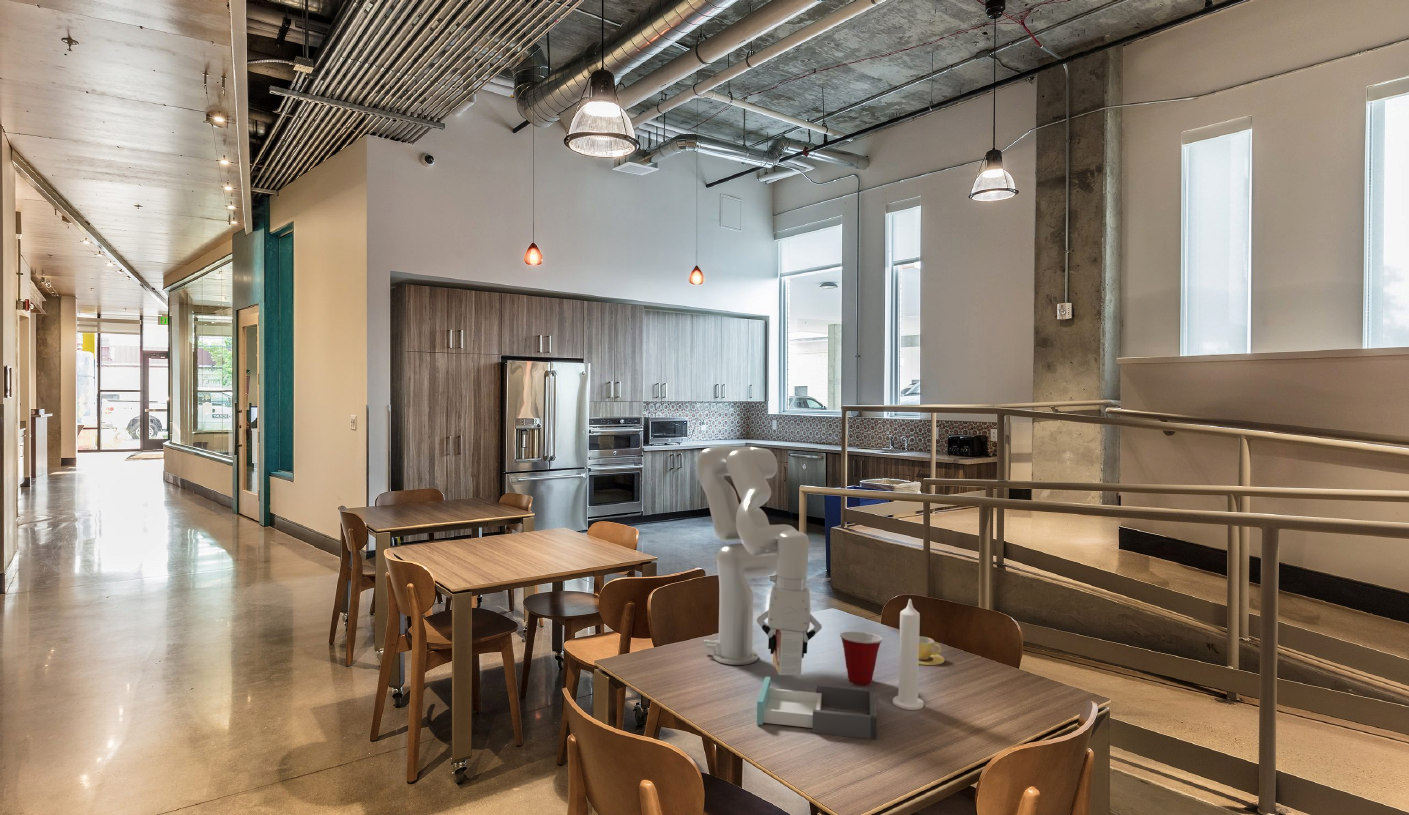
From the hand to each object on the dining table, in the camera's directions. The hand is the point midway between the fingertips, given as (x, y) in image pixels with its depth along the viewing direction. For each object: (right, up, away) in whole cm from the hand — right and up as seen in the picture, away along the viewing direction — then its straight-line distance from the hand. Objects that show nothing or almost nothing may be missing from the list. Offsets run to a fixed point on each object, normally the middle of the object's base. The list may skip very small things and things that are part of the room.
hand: (787, 653), depth 178 cm
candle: (+28, -10, -6) cm, 30 cm away
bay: (+11, -10, -16) cm, 21 cm away
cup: (+41, -11, +27) cm, 50 cm away
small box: (0, -4, 0) cm, 4 cm away
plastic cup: (+20, -10, +8) cm, 24 cm away
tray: (-1, -9, -13) cm, 16 cm away
